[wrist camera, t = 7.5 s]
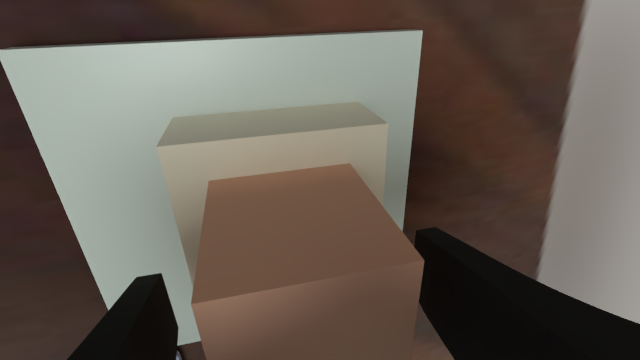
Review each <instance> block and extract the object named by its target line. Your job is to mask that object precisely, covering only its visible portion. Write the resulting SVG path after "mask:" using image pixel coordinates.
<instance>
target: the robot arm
mask: <svg viewBox="0 0 640 360" xmlns="http://www.w3.org/2000/svg"><path fill="white" fill-rule="evenodd" d="M414 248H415V249H416V250H417V251H418V253H419V254H420V255H421V257H422V258H423V259H424V267H423V275H422V282H421V289H420V296H419V303H420V305H421V307H422V309H423V311H424V313H425V314H426V316H427V317H428V319H429V321H430V322H431V324H432V325H433V327H434V329H435V330H436V332H437V333H438V335H439V336H440V338H441V339H442V341H443V343H444V344H445V346H446V347H447V349H448V350H449V352H450V353H451V355H452V356H453V358H454V360H640V324H638V323H635V322H632V321H630V320H627V319H624V318H621V317H619V316H616V315H614V314H611V313H609V312H606V311H603V310H601V309H598V308H596V307H594V306H591V305H589V304H587V303H584V302H582V301H580V300H577V299H574V298H572V297H570V296H568V295H565V294H563V293H561V292H559V291H557V290H554V289H552V288H550V287H548V286H546V285H544V284H542V283H540V282H538V281H536V280H534V279H532V278H530V277H527V276H525V275H523V274H521V273H520V272H518V271H516V270H514V269H512V268H510V267H508V266H506V265H504V264H502V263H500V262H499V261H497V260H495V259H493V258H491V257H489V256H487V255H486V254H484V253H482V252H480V251H478V250H477V249H475V248H473V247H471V246H469V245H468V244H466V243H464V242H462V241H460V240H459V239H457V238H455V237H453V236H451V235H449V234H447V233H445V232H444V231H442V230H440V229H437V228H435V227H434V228H428V229H422V230H416V238H415V246H414ZM178 329H179V328H178V324H177V321H176V318H175V315H174V312H173V308H172V305H171V302H170V299H169V296H168V292H167V289H166V286H165V283H164V279H163V276H162V273H158V274H152V275H146V276H140V277H136V278H135V279H134V281H133V282H132V283H131V284H130V285H129V286H128V288H127V289H126V290H125V291H124V292H123V294H122V295H121V296H120V297H119V298H118V300H117V301H116V302H115V303H114V305H113V306H112V307H111V308H110V309H109V311H108V312H107V313H106V314H105V316H104V317H103V318H102V319H101V320H100V322H99V323H98V324H97V325H96V326H95V328H94V329H93V330H92V331H91V332H90V333H89V335H88V336H87V337H86V338H85V339H84V340H83V342H82V343H81V344H80V345H79V346H78V347H77V349H76V350H75V351H74V352H73V353H72V354H71V356H70V357H69V358H68V359H67V360H182V358H181V355H180V353H179V351H177V343H178Z"/></svg>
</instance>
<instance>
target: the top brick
mask: <svg viewBox="0 0 640 360" xmlns="http://www.w3.org/2000/svg"><path fill="white" fill-rule="evenodd" d="M423 267H424V259H423V258H422V257H421V255H420V254H419V253H418V251H417V250H416V249H415V248H414V246H413V245H412V244H411V242H410V241H409V240H408V238H407V237H406V236H405V234H404V233H403V232H402V231H401V229H400V228H399V227H398V225H397V224H396V223H395V221H394V220H393V219H392V218H391V216H390V215H389V214H388V212H387V211H386V210H385V208H384V207H383V206H382V205H381V203H380V202H379V201H378V199H377V198H376V197H375V195H374V194H373V193H372V192H371V190H370V189H369V188H368V186H367V185H366V184H365V182H364V181H363V180H362V179H361V177H360V176H359V175H358V173H357V172H356V171H355V169H354V168H353V167H352V165H351V164H350V163H347V164H339V165H331V166H323V167H315V168H307V169H299V170H291V171H283V172H275V173H267V174H259V175H251V176H242V177H234V178H226V179H218V180H210V181H209V182H208V189H207V196H206V203H205V209H204V216H203V223H202V230H201V237H200V244H199V251H198V258H197V265H196V272H195V279H194V286H193V293H192V300H191V307H192V310H193V314H194V317H195V321H196V324H197V328H198V332H199V335H200V339H201V342H202V346H203V349H204V353H205V357H206V360H411V353H412V346H413V339H414V332H415V325H416V318H417V310H418V303H419V296H420V289H421V282H422V275H423Z"/></svg>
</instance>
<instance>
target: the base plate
mask: <svg viewBox="0 0 640 360" xmlns="http://www.w3.org/2000/svg"><path fill="white" fill-rule="evenodd" d="M422 33H423V30H413V29H405V30H382V31H360V32H338V33H316V34H294V35H271V36H249V37H227V38H205V39H183V40H160V41H138V42H116V43H94V44H72V45H50V46H27V47H12V48H6V49H0V60H1V63H2V65H3V67H4V70H5V72H6V74H7V77H8V79H9V81H10V84H11V86H12V88H13V90H14V93H15V95H16V97H17V100H18V102H19V104H20V107H21V109H22V111H23V114H24V116H25V118H26V121H27V123H28V125H29V128H30V130H31V132H32V134H33V137H34V139H35V141H36V144H37V146H38V148H39V151H40V153H41V155H42V158H43V160H44V162H45V165H46V167H47V169H48V172H49V174H50V176H51V178H52V181H53V183H54V185H55V188H56V190H57V192H58V195H59V197H60V199H61V202H62V204H63V206H64V209H65V211H66V213H67V216H68V218H69V220H70V222H71V225H72V227H73V229H74V232H75V234H76V236H77V239H78V241H79V243H80V246H81V248H82V250H83V253H84V255H85V257H86V260H87V262H88V264H89V266H90V269H91V271H92V273H93V276H94V278H95V280H96V283H97V285H98V287H99V290H100V292H101V294H102V297H103V299H104V301H105V304H106V306H107V308H108V310H109V309H110V308H111V307H112V306H113V305H114V303H115V302H116V301H117V300H118V298H119V297H120V296H121V295H122V294H123V292H124V291H125V290H126V289H127V288H128V286H129V285H130V284H131V283H132V282H133V281H134V279H135V278H136V277H140V276H146V275H152V274H158V273H162V276H163V279H164V283H165V286H166V289H167V292H168V296H169V299H170V302H171V305H172V308H173V312H174V315H175V318H176V321H177V324H178V328H179V329H178V343H177V346H178V345H183V344H188V343H193V342H197V341H201V339H200V335H199V332H198V328H197V324H196V321H195V317H194V314H193V310H192V307H191V300H192V293H193V286H194V279H195V272H196V265H197V258H198V251H199V244H200V237H201V230H202V223H203V216H204V209H205V203H206V196H207V189H208V182H209V181H210V180H218V179H226V178H234V177H242V176H251V175H259V174H267V173H275V172H283V171H291V170H299V169H307V168H315V167H323V166H331V165H339V164H347V163H350V164H351V165H352V167H353V168H354V169H355V171H356V172H357V173H358V175H359V176H360V177H361V179H362V180H363V181H364V182H365V184H366V185H367V186H368V188H369V189H370V190H371V192H372V193H373V194H374V195H375V197H376V198H377V199H378V201H379V202H380V203H381V205H382V206H383V207H384V208H385V210H386V211H387V212H388V214H389V215H390V216H391V218H392V219H393V220H394V221H395V223H396V224H397V225H398V227H399V228H400V229H401V231H402V232H403V222H404V212H405V202H406V192H407V182H408V172H409V163H410V153H411V143H412V133H413V123H414V113H415V103H416V93H417V83H418V73H419V63H420V53H421V43H422Z"/></svg>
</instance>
